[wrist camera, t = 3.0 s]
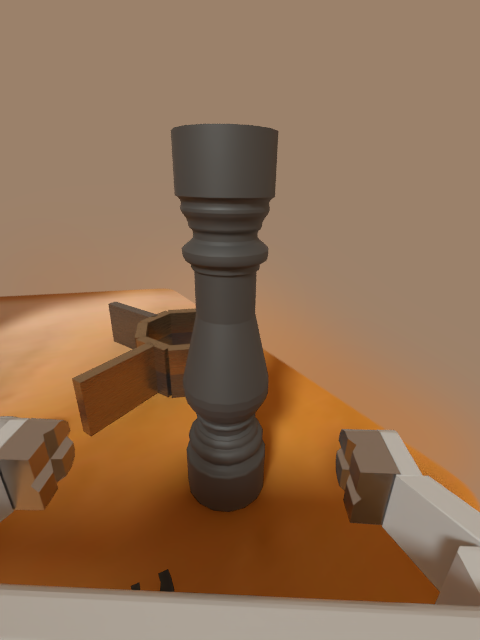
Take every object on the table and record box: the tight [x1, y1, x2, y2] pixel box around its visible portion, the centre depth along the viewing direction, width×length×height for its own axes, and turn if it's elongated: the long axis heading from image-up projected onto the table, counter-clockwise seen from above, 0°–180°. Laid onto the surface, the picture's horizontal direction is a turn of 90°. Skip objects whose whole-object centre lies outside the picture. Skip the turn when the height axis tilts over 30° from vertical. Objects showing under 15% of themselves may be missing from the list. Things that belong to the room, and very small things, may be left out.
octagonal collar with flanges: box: [72, 302, 196, 436], centre depth 40 cm, size 20×20×6 cm
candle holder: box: [171, 124, 278, 512], centre depth 22 cm, size 6×6×25 cm
